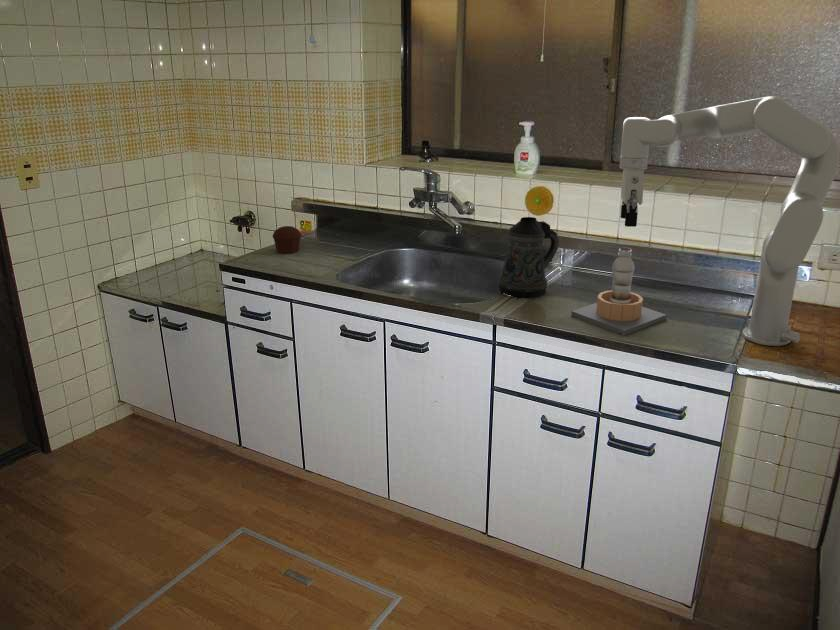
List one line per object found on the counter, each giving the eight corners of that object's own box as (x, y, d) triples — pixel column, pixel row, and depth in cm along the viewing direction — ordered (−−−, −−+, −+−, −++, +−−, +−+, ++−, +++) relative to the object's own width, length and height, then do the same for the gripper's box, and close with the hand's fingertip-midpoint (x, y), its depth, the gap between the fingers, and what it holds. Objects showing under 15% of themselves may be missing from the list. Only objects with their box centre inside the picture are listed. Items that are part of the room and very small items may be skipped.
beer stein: (488, 291, 242) (489, 219, 232) (522, 277, 254) (525, 209, 245) (527, 302, 231) (531, 227, 222) (561, 288, 243) (566, 216, 234)
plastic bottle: (635, 313, 217) (641, 249, 210) (619, 317, 214) (625, 253, 206) (619, 306, 222) (625, 245, 215) (603, 311, 219) (609, 248, 211)
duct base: (666, 319, 216) (668, 299, 214) (624, 335, 205) (626, 314, 203) (613, 301, 231) (614, 282, 229) (571, 315, 220) (572, 295, 217)
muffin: (270, 254, 285) (268, 230, 281) (277, 247, 295) (274, 223, 291) (300, 255, 284) (298, 230, 281) (305, 247, 295) (303, 223, 291)
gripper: (652, 168, 192) (646, 229, 199) (642, 158, 208) (637, 215, 214) (623, 168, 193) (618, 229, 200) (616, 157, 209) (611, 215, 215)
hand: (628, 222), depth 207 cm, fingers open, 9 cm apart
